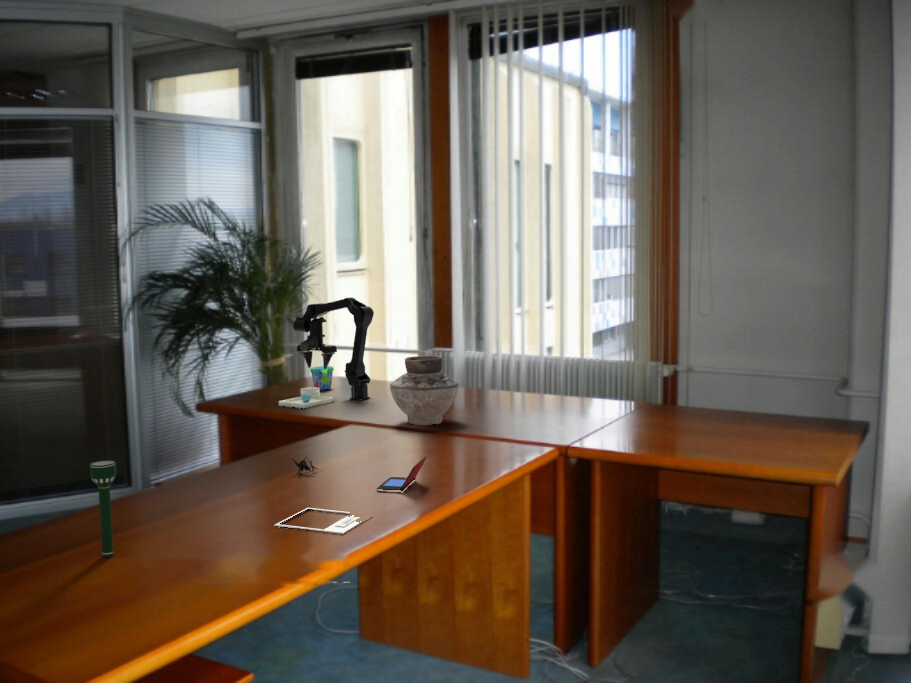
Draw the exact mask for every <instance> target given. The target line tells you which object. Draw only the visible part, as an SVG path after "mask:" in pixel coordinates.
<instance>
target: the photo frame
mask: <svg viewBox="0 0 911 683" xmlns="http://www.w3.org/2000/svg"><path fill="white" fill-rule="evenodd" d="M307 509H313V510H322V511H330V512H341V513H342V512H343V513H350V512H351V511H341V510H333V509H323V508H315V507H306V508H304V509H303V510H301V511H299V512H296V513H295V514H293V515H291V516H289V517H287V518H285V519H283V520H281V521H278V522H277V523H275V524H274V527H275V526H278V527H277V528H280V527H288V528H300V529H309V530H316V531H324V532H332V533H341V534H344V533H345V532H347V531H348V530H350V529H351V528H353V527H354V526H356V525H357V524H359V522H356V520H357V519H359V518H360V517H354V515H352V516H350V517H348V516H349V515H346V516H344V517H343V518H341V519H339V520H338V521H336V522H335V523H332V524H331V525H330V526H328V527H326V528H324V529H323V528H314V527H306V526H297V525H287V524H283V523H285V522H287V521H289V520H291V519H292V517H293V516H295V515H297V514H299V513H301V512H302V513H304V512H306V511H308V510H307ZM305 510H306V511H305ZM303 511H304V512H303ZM302 513H301V514H302ZM299 515H300V514H299ZM297 516H298V515H297ZM295 517H296V516H295ZM290 518H291V519H290ZM293 518H294V517H293ZM288 519H289V520H288ZM286 520H287V521H286ZM284 521H285V522H284ZM282 522H283V523H282ZM360 522H361V521H360ZM280 523H281V524H280ZM288 528H287V529H288ZM347 533H348V532H347ZM344 535H345V534H344Z"/></svg>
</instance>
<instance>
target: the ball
mask: <svg viewBox="0 0 911 683" xmlns="http://www.w3.org/2000/svg"><path fill="white" fill-rule="evenodd" d="M300 397H301V399H302V401H304V402H309V401H310V400H311V395H310V394H309V393H303V394H302V396H301V395H300Z"/></svg>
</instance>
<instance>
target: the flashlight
mask: <svg viewBox="0 0 911 683" xmlns="http://www.w3.org/2000/svg"><path fill="white" fill-rule="evenodd" d="M116 464H117V463H116V461H115V460H112V459H107V460H105V459H102V460H96V461H93V462H91V463H90V464H89V475H90V478H91V481H93V483H94V484H95V485H96V486H97V487H98V502H99V503H98V504H99V518H100V520H99V521H100V537H101V553H102V554H101V555H102V557H103V558H106V559H108V558H112V557H113V556H114V541H113V540H114V539H113V538H114V537H113V524H112V523H113V520H112V505H111V504H112V502H111V485H112V483H113V482H114V480H115V477H116V476H117V465H116Z"/></svg>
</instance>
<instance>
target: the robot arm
mask: <svg viewBox="0 0 911 683" xmlns="http://www.w3.org/2000/svg"><path fill="white" fill-rule="evenodd" d="M341 309H347V311H348V312H349V313H350V314H351V315H353V323H354V325H355V333H354V339H353V346H352V353H351V360H350V362H346V363H345V370H344V373H345V378H346V379H347V382H348V385H349V386H351V388H350V391H351V392H350V393H351V394H350V395H351V397H349V399H350V400H356V399H363V400H366V399H365V398H368V399H370V398H371V396H368V395H369V392H368V390H369V389H368V388H369V387H368V386H369V384H371V383H370V382H371V378H370V376H369V375H368V374H367V372H366V365H365V363H364V355H365V350H366V343H367V342H366V341H367V336H368V335H367V333H368V328H369V326H370V325H371V323H372V321H373V318H374V315H375V314H374V313H375V312H374V310H373V309H372V307H371V306H367V304H365V303H362V302H361V301H359V300H357V299H356V298H354V297H345V298H343V299H339V300H335V301H331V302H326V303H311V304H307V307H306V310H305V312H304V313H303V315H302V316H296V317H295V320H294V321H293V324H292V326H293V327H292V328H293V330H294V331H295V333H309V334H308V335H307V336H306V339H305V340H303V341H302V342H300V343H299V344H297V346H296V352H299V354H301V355H302V356H303V358H304V360H305V364H306V365H307V368H308V369H310V368H312V360H313V351H315V352H321V354H320V355H321V356H322V359H323V360H322V362H323V366H324V369H326V368H327V366H329V363H330V361H331V359H332V357H333V355H335V354H336V353H337V352H338V351H337V350H338V349H337V346H336V345H330V344H329V345H326V344H325V343H324V338H325V337H326V334H324V333H323V332H324V330H323V329H324V326H323V323H327V319H326V318H325V317H324V316H325V315H327V314H329V313H330V312H334V311H338V310H341Z"/></svg>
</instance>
